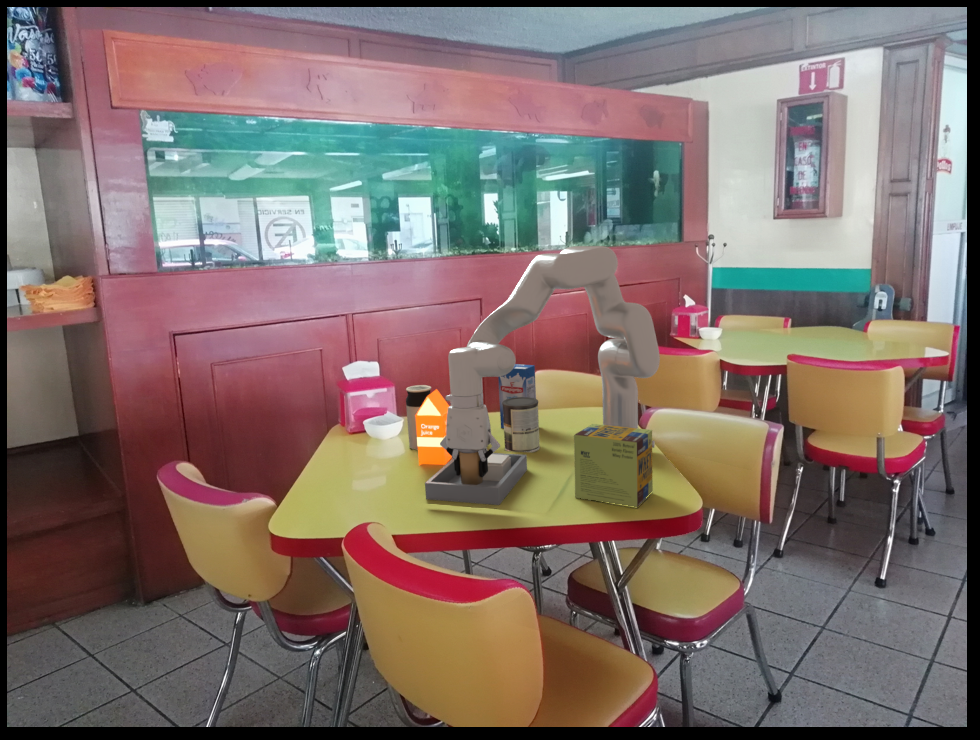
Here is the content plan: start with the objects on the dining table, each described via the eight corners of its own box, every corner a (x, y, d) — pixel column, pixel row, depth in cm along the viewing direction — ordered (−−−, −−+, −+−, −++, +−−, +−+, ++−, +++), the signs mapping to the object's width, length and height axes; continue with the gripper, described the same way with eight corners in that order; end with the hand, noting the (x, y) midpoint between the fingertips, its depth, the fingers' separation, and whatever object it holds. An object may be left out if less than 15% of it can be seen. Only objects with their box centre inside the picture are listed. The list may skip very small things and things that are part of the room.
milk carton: (537, 426, 221) (534, 365, 217) (527, 431, 216) (525, 369, 212) (510, 423, 226) (507, 363, 222) (500, 428, 221) (497, 367, 217)
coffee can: (497, 451, 198) (495, 403, 195) (517, 441, 206) (514, 395, 203) (527, 456, 192) (525, 407, 189) (546, 446, 200) (545, 398, 197)
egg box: (511, 472, 177) (510, 454, 176) (503, 481, 170) (502, 463, 169) (471, 469, 180) (470, 452, 179) (461, 478, 174) (460, 461, 173)
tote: (527, 473, 178) (526, 454, 177) (499, 509, 156) (498, 488, 155) (462, 469, 184) (461, 451, 183) (426, 503, 162) (424, 482, 161)
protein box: (638, 509, 152) (637, 442, 149) (574, 498, 160) (572, 434, 157) (653, 493, 161) (653, 429, 158) (592, 483, 169) (591, 422, 166)
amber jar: (478, 486, 161) (476, 449, 160) (457, 484, 163) (455, 448, 161) (486, 478, 166) (484, 442, 165) (465, 477, 168) (463, 441, 166)
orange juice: (454, 457, 194) (450, 388, 190) (446, 468, 185) (441, 396, 182) (428, 457, 196) (423, 388, 192) (418, 467, 187) (413, 395, 183)
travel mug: (429, 451, 201) (425, 391, 197) (404, 449, 203) (400, 390, 200) (440, 443, 208) (436, 385, 205) (416, 441, 211) (412, 384, 207)
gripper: (427, 403, 160) (432, 477, 164) (497, 405, 155) (500, 482, 158) (439, 396, 167) (444, 467, 171) (506, 397, 162) (510, 471, 165)
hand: (471, 473), depth 164 cm, fingers closed on amber jar, 5 cm apart
